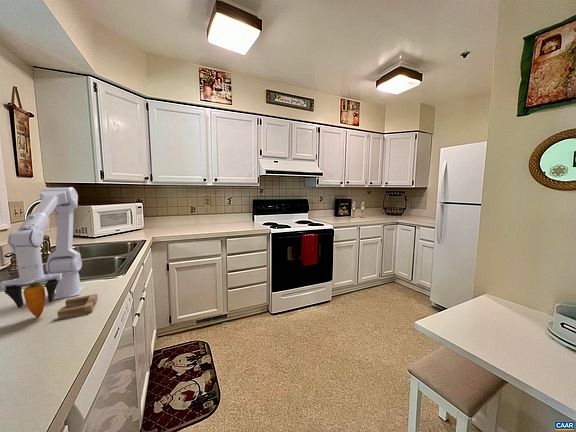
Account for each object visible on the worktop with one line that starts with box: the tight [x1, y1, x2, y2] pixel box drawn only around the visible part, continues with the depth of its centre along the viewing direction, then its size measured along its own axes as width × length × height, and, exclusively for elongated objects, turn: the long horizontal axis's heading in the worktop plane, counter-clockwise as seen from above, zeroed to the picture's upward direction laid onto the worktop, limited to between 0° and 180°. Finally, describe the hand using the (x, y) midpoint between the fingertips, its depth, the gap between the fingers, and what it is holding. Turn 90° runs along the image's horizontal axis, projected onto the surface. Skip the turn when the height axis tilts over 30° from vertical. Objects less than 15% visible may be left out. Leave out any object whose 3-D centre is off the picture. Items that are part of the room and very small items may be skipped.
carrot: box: [23, 282, 46, 318], centre depth 84 cm, size 5×5×15 cm
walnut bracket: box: [57, 293, 99, 320], centre depth 90 cm, size 11×9×2 cm
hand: (36, 303), depth 84 cm, fingers open, 7 cm apart
